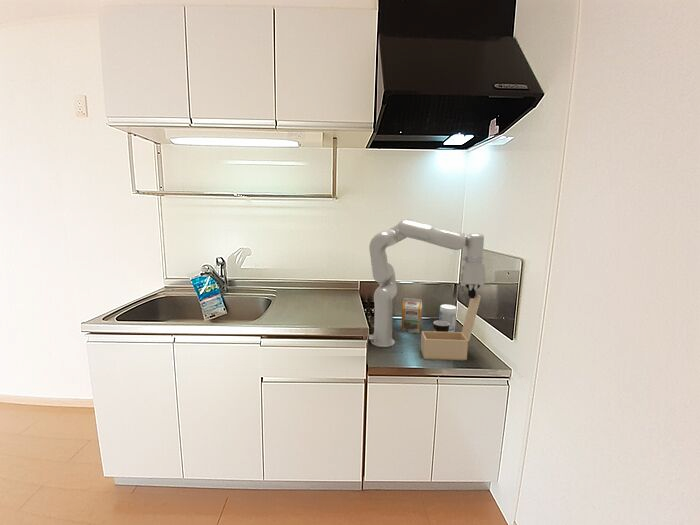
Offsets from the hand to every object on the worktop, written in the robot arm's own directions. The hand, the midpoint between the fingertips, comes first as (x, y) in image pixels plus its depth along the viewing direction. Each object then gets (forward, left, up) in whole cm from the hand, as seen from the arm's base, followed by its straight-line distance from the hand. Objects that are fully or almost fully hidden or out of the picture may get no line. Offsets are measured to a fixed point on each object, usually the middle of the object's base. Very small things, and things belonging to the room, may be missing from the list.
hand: (471, 297), depth 163 cm
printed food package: (-23, +34, -30) cm, 51 cm away
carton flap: (0, 0, -9) cm, 9 cm away
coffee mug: (-9, +20, -30) cm, 37 cm away
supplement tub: (-2, +35, -30) cm, 46 cm away
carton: (-12, 0, -30) cm, 32 cm away
